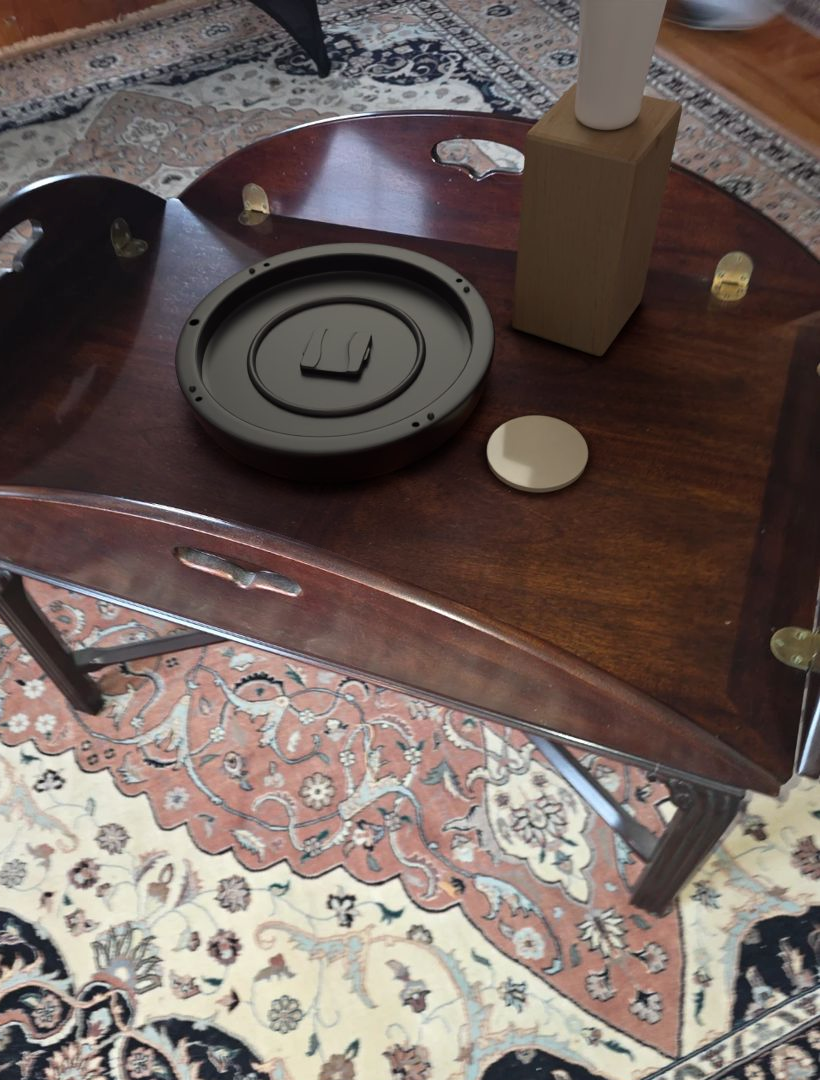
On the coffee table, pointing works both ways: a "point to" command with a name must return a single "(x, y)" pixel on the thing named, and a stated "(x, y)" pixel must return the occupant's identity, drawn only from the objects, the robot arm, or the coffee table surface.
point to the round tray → (336, 360)
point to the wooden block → (589, 221)
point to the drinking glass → (614, 59)
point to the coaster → (537, 453)
